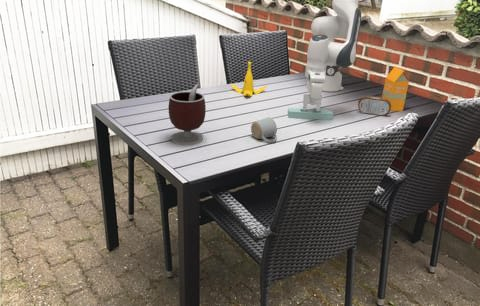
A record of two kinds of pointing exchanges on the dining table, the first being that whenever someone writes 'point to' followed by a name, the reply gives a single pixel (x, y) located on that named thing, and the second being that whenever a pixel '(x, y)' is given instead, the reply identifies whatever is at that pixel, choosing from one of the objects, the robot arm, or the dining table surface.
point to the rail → (310, 114)
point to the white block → (307, 101)
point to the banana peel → (248, 84)
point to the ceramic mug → (264, 129)
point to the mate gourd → (187, 116)
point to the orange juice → (396, 89)
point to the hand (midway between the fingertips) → (311, 103)
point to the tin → (374, 105)
